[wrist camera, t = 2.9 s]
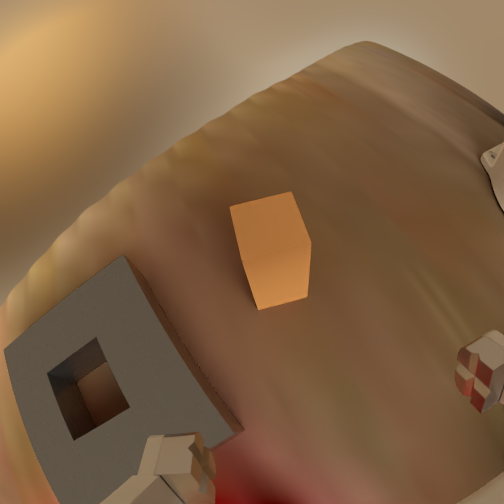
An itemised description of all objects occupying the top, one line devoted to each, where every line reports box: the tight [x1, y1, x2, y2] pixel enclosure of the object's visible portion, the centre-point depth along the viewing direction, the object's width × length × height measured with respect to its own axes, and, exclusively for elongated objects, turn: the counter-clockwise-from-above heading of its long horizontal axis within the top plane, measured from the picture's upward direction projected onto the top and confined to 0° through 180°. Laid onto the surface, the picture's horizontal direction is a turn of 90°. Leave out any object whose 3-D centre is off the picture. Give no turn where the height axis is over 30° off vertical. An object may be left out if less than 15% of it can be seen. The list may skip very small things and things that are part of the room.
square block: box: [230, 192, 311, 310], centre depth 21 cm, size 4×4×8 cm
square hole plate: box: [4, 254, 244, 504], centre depth 19 cm, size 16×16×4 cm
